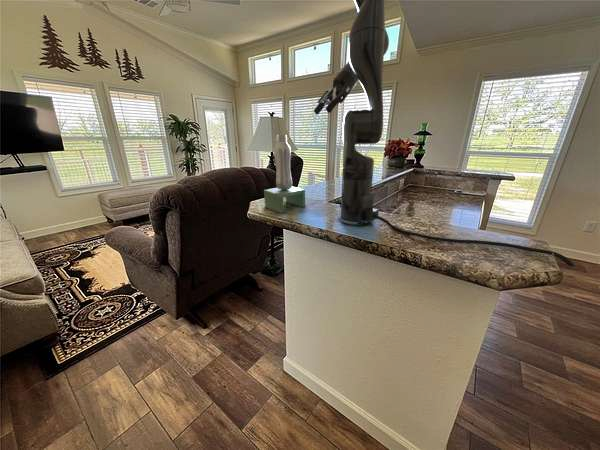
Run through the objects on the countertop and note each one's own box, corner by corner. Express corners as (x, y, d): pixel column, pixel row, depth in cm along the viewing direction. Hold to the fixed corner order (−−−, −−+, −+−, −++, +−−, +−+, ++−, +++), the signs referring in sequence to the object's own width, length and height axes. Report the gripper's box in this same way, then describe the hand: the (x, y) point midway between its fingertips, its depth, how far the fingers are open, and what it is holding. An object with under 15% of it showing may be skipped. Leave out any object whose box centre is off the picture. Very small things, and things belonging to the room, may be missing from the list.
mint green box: (305, 206, 94) (304, 189, 92) (281, 213, 87) (280, 194, 84) (288, 201, 102) (287, 185, 99) (265, 207, 95) (263, 190, 92)
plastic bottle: (295, 188, 94) (293, 134, 86) (287, 192, 88) (285, 135, 81) (281, 187, 96) (278, 135, 89) (272, 190, 91) (269, 135, 83)
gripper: (331, 73, 92) (306, 105, 92) (354, 64, 80) (325, 101, 80) (341, 89, 96) (317, 120, 96) (365, 83, 84) (338, 118, 84)
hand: (321, 111), depth 88 cm, fingers open, 8 cm apart
